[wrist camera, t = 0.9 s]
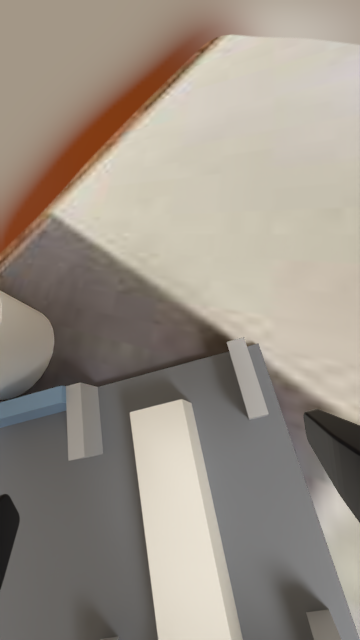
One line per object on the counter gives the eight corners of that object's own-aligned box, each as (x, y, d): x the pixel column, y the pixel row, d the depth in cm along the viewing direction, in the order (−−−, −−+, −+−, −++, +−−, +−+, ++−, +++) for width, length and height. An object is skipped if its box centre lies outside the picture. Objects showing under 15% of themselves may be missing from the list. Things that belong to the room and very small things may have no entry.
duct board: (391, 737, 13) (437, 839, 10) (-75, 767, 17) (-153, 847, 14) (258, 345, 21) (259, 330, 18) (-38, 425, 25) (-82, 425, 22)
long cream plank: (264, 718, 14) (267, 800, 11) (188, 724, 14) (170, 803, 11) (194, 402, 20) (183, 397, 17) (143, 415, 21) (124, 412, 18)
